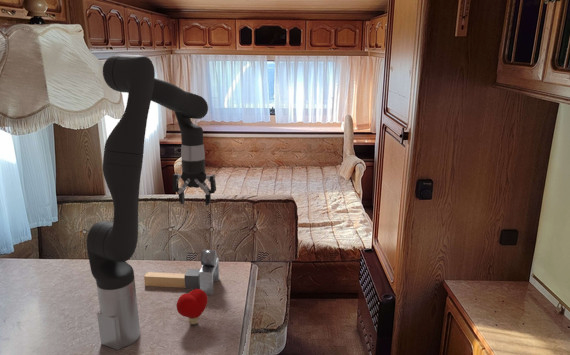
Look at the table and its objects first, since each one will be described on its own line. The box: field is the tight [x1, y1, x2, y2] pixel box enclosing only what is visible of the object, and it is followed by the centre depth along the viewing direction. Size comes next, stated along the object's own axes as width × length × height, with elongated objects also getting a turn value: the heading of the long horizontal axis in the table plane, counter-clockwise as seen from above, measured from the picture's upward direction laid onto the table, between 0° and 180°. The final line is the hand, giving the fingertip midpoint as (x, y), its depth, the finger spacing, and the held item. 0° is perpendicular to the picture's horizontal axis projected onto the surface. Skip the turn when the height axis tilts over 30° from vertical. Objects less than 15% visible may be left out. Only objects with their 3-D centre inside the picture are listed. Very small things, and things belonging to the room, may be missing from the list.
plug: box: [143, 268, 201, 290], centre depth 141 cm, size 18×4×5 cm, turn 86°
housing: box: [199, 249, 220, 296], centre depth 139 cm, size 4×10×13 cm, turn 176°
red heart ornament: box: [175, 288, 209, 326], centre depth 120 cm, size 9×7×10 cm
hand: (195, 204), depth 145 cm, fingers open, 8 cm apart
